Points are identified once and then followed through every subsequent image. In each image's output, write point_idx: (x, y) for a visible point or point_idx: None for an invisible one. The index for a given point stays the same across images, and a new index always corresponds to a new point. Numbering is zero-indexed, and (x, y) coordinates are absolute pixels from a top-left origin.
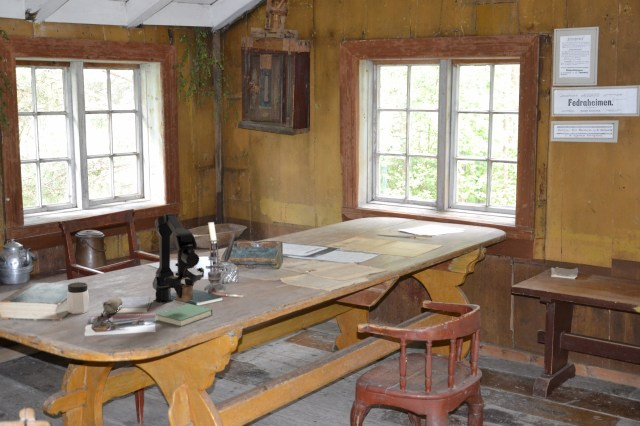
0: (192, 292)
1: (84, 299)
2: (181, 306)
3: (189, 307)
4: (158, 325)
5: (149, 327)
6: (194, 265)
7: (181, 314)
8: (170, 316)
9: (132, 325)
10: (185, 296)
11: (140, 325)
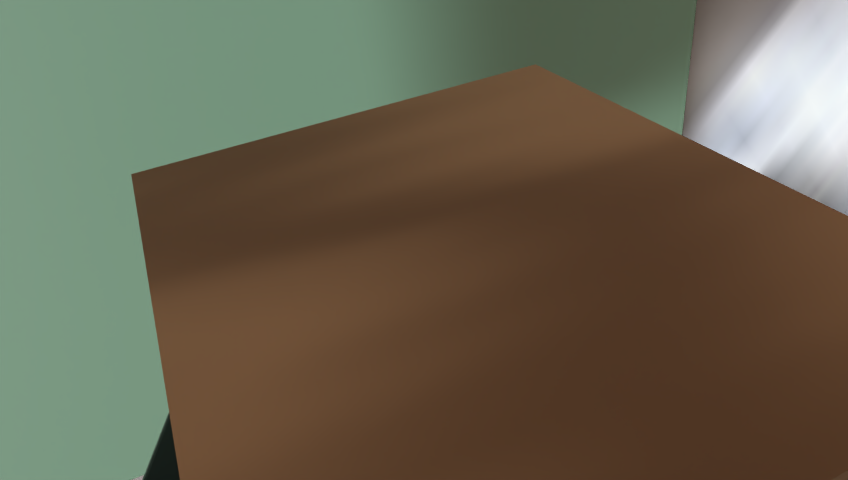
0: (197, 337)
1: None
2: (146, 450)
3: (28, 342)
4: (739, 25)
5: (833, 30)
6: None
7: (457, 14)
8: (649, 44)
9: (834, 204)
10: (638, 134)
11: (810, 159)
